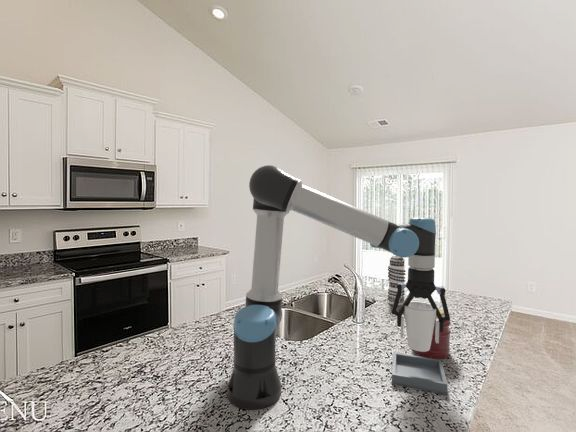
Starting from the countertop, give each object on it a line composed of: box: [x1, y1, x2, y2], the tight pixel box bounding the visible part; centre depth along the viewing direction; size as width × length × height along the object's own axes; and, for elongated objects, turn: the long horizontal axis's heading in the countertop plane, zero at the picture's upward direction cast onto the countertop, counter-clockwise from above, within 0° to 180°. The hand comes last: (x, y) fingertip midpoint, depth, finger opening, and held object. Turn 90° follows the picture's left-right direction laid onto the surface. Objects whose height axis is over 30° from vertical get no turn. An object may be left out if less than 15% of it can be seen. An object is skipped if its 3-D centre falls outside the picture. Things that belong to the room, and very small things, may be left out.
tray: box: [391, 352, 448, 396], centre depth 101 cm, size 15×15×3 cm
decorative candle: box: [387, 255, 406, 306], centre depth 174 cm, size 9×9×25 cm
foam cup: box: [403, 300, 437, 352], centre depth 100 cm, size 10×9×13 cm
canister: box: [412, 307, 452, 360], centre depth 118 cm, size 13×13×18 cm
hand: (419, 338), depth 100 cm, fingers closed on foam cup, 9 cm apart
